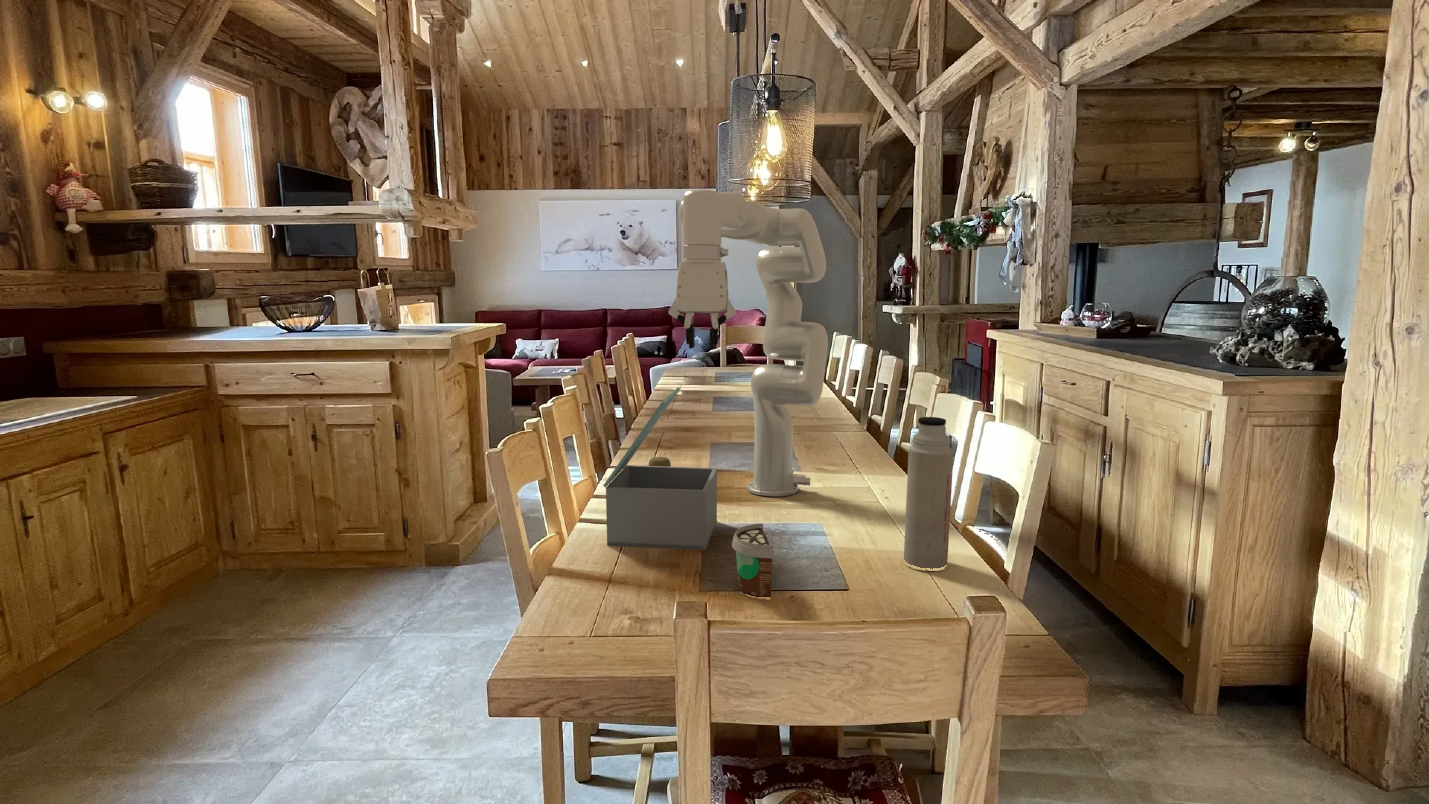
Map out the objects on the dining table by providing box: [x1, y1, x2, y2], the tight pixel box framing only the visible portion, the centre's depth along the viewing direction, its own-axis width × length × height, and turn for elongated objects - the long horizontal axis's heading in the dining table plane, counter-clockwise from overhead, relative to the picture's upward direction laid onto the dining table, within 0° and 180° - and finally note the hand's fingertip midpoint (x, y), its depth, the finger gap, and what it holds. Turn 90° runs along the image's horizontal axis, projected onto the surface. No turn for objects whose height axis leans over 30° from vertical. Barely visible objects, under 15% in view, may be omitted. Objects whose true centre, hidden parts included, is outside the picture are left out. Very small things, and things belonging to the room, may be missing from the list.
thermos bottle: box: [903, 416, 955, 569], centre depth 146 cm, size 8×8×28 cm
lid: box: [602, 386, 681, 489], centre depth 163 cm, size 21×19×1 cm
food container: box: [731, 523, 774, 598], centre depth 136 cm, size 12×6×10 cm, turn 5°
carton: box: [605, 464, 718, 551], centre depth 165 cm, size 20×18×12 cm
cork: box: [648, 456, 672, 467], centre depth 186 cm, size 6×6×11 cm
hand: (702, 347), depth 158 cm, fingers open, 3 cm apart
